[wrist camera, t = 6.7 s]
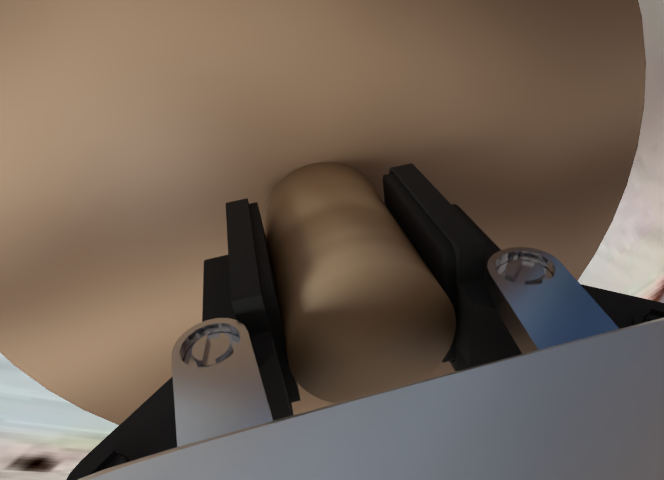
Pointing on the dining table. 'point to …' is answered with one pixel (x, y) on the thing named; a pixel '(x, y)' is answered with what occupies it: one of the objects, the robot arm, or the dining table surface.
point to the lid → (290, 170)
